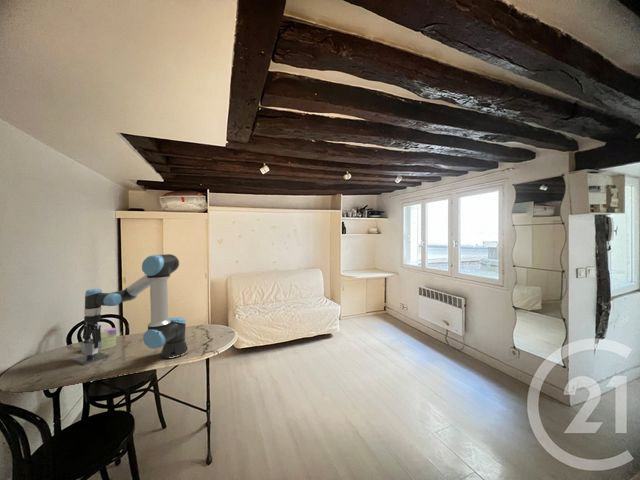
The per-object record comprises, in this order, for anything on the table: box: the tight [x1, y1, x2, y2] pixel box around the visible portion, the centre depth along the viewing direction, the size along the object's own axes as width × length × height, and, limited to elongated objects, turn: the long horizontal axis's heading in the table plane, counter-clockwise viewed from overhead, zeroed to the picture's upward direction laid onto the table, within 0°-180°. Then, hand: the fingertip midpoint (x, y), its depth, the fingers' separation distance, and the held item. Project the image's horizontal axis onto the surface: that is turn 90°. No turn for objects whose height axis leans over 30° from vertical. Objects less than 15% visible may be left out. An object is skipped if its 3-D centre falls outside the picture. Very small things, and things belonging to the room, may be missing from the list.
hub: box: [81, 338, 102, 356], centre depth 153 cm, size 8×8×7 cm
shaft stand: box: [72, 341, 109, 366], centre depth 153 cm, size 12×12×10 cm
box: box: [100, 327, 118, 351], centre depth 170 cm, size 10×6×12 cm, turn 145°
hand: (91, 351), depth 153 cm, fingers closed on hub, 8 cm apart
